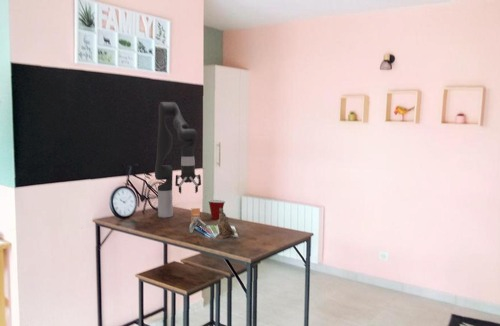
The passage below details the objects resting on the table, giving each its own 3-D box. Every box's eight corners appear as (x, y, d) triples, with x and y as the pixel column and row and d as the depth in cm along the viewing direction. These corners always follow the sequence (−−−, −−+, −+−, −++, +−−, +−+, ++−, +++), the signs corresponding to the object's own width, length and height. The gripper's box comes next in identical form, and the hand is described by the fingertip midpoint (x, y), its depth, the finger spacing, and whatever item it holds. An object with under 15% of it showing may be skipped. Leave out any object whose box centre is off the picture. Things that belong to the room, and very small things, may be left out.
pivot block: (193, 223, 257) (193, 215, 256) (198, 223, 257) (197, 215, 257) (193, 225, 253) (193, 216, 253) (198, 224, 254) (198, 216, 253)
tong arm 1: (193, 224, 253) (193, 218, 252) (195, 224, 253) (195, 218, 252) (189, 232, 235) (189, 225, 234) (192, 232, 235) (192, 225, 234)
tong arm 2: (196, 224, 253) (196, 218, 252) (198, 224, 253) (198, 218, 253) (204, 232, 236) (204, 225, 236) (206, 232, 236) (206, 224, 236)
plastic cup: (228, 218, 270) (228, 200, 269) (216, 221, 262) (216, 202, 261) (217, 216, 277) (217, 198, 276) (204, 219, 269) (204, 200, 268)
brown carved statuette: (222, 243, 224) (217, 212, 219) (214, 241, 227) (210, 210, 222) (236, 234, 233) (232, 203, 228) (228, 232, 236) (224, 202, 231)
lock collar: (191, 223, 256) (191, 208, 255) (199, 222, 257) (199, 208, 256) (191, 224, 253) (191, 209, 252) (200, 223, 254) (200, 209, 253)
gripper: (200, 163, 243) (200, 191, 244) (175, 164, 241) (175, 192, 242) (201, 165, 235) (201, 193, 237) (174, 165, 233) (175, 194, 235)
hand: (188, 193), depth 240 cm, fingers open, 8 cm apart
